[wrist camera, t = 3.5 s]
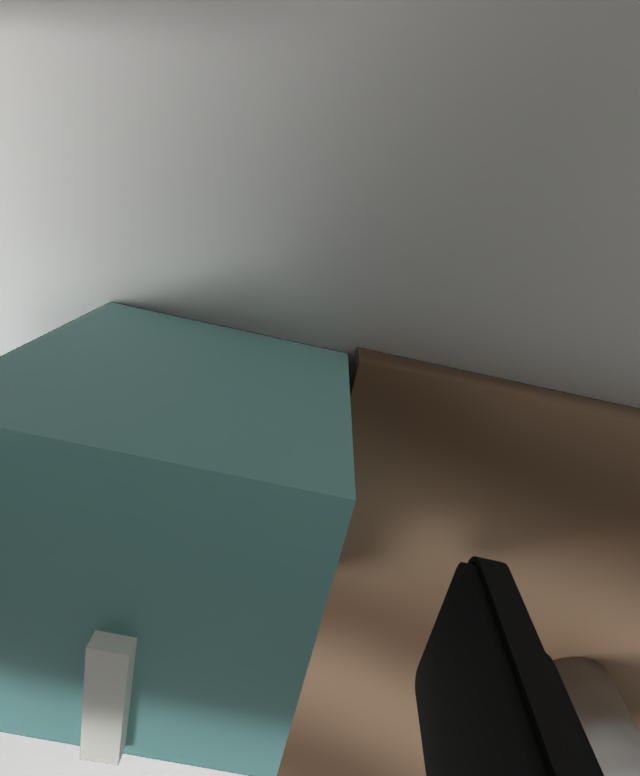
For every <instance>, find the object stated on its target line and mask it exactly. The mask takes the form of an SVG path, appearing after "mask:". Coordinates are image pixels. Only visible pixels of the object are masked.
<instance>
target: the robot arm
mask: <svg viewBox="0 0 640 776" xmlns="http://www.w3.org/2000/svg"><path fill="white" fill-rule="evenodd" d="M415 695H416V702H417V710H418V717H419V725H420V733H421V740H422V748H423V755H424V763H425V771H426V776H604V774H603V772H602V769H601V767H600V765H599V763H598V760H597V758H596V756H595V754H594V751H593V749H592V747H591V745H590V742H589V740H588V738H587V735H586V733H585V731H584V729H583V726H582V724H581V722H580V720H579V717H578V715H577V713H576V711H575V708H574V706H573V704H572V701H571V699H570V697H569V695H568V692H567V690H566V688H565V686H564V683H563V681H562V679H561V677H560V674H559V672H558V670H557V667H556V665H555V664H554V662H553V660H552V658H551V657H550V656H549V655H548V654H547V653H546V652H545V650H544V648H543V645H542V643H541V641H540V638H539V636H538V634H537V631H536V629H535V627H534V625H533V622H532V620H531V618H530V615H529V613H528V611H527V608H526V606H525V604H524V601H523V599H522V597H521V594H520V592H519V590H518V587H517V585H516V583H515V580H514V578H513V576H512V574H511V571H510V569H509V567H508V566H507V564H505V563H504V562H500V561H495V560H490V559H486V558H481V557H477V556H473V557H471V558H470V559H469V561H468V563H465V562H460V563H459V564H458V566H457V568H456V570H455V573H454V576H453V578H452V581H451V583H450V586H449V588H448V591H447V593H446V596H445V599H444V601H443V604H442V606H441V609H440V611H439V614H438V616H437V619H436V622H435V624H434V627H433V629H432V632H431V634H430V637H429V639H428V642H427V645H426V647H425V650H424V652H423V655H422V657H421V660H420V662H419V665H418V668H417V671H416V676H415Z"/></svg>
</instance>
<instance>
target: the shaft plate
mask: <svg viewBox="0 0 640 776" xmlns="http://www.w3.org/2000/svg"><path fill="white" fill-rule="evenodd" d="M349 384H350V402H351V420H352V437H353V455H354V473H355V491H356V502H355V506H354V509H353V513H352V516H351V520H350V523H349V526H348V530H347V533H346V537H345V540H344V544H343V547H342V551H341V554H340V558H339V561H338V565H337V568H336V572H335V575H334V579H333V582H332V586H331V589H330V592H329V596H328V599H327V603H326V606H325V610H324V613H323V617H322V620H321V624H320V627H319V631H318V634H317V638H316V641H315V645H314V648H313V651H312V655H311V658H310V662H309V665H308V669H307V672H306V676H305V679H304V683H303V686H302V690H301V693H300V697H299V700H298V704H297V707H296V711H295V714H294V717H293V721H292V724H291V728H290V731H289V735H288V738H287V742H286V745H285V749H284V752H283V756H282V759H281V763H280V766H279V770H278V773H277V776H426V771H425V763H424V755H423V748H422V740H421V733H420V725H419V717H418V710H417V702H416V695H415V676H416V671H417V668H418V665H419V662H420V660H421V657H422V655H423V652H424V650H425V647H426V645H427V642H428V639H429V637H430V634H431V632H432V629H433V627H434V624H435V622H436V619H437V616H438V614H439V611H440V609H441V606H442V604H443V601H444V599H445V596H446V593H447V591H448V588H449V586H450V583H451V581H452V578H453V576H454V573H455V570H456V568H457V566H458V564H459V563H460V562H465V563H468V561H469V559H470V558H471V557H473V556H477V557H481V558H486V559H490V560H495V561H500V562H504V563H505V564H507V566H508V567H509V569H510V571H511V574H512V576H513V578H514V580H515V583H516V585H517V587H518V590H519V592H520V594H521V597H522V599H523V601H524V604H525V606H526V608H527V611H528V613H529V615H530V618H531V620H532V622H533V625H534V627H535V629H536V631H537V634H538V636H539V638H540V641H541V643H542V645H543V648H544V650H545V652H546V653H547V654H548V655H549V656H550V657H551V658H552V660H553V662H554V664H555V665H556V667H557V670H558V672H559V674H560V677H561V679H562V681H563V683H564V686H565V688H566V690H567V692H568V695H569V697H570V699H571V701H572V704H573V706H574V708H575V711H576V713H577V715H578V717H579V720H580V722H581V724H582V726H583V729H584V731H585V733H586V735H587V738H588V740H589V742H590V745H591V747H592V749H593V751H594V754H595V756H596V758H597V760H598V763H599V765H600V767H601V769H602V772H603V774H604V776H640V409H637V408H632V407H628V406H623V405H619V404H614V403H610V402H605V401H600V400H596V399H591V398H587V397H582V396H578V395H573V394H568V393H564V392H559V391H555V390H550V389H546V388H541V387H536V386H532V385H527V384H523V383H518V382H513V381H509V380H504V379H500V378H495V377H491V376H486V375H481V374H477V373H472V372H468V371H463V370H459V369H454V368H449V367H445V366H440V365H436V364H431V363H427V362H422V361H417V360H413V359H408V358H404V357H399V356H394V355H390V354H385V353H381V352H376V351H372V350H367V349H362V348H358V350H357V354H356V358H355V362H354V366H353V369H352V373H351V377H350V381H349Z"/></svg>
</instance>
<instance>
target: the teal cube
mask: <svg viewBox="0 0 640 776" xmlns="http://www.w3.org/2000/svg"><path fill="white" fill-rule="evenodd" d="M355 502H356V491H355V473H354V455H353V437H352V420H351V402H350V384H349V367H348V354H347V353H343V352H338V351H333V350H329V349H324V348H320V347H315V346H310V345H306V344H301V343H297V342H292V341H287V340H283V339H278V338H274V337H269V336H265V335H260V334H255V333H251V332H246V331H242V330H237V329H232V328H228V327H223V326H219V325H214V324H209V323H205V322H200V321H196V320H191V319H186V318H182V317H177V316H173V315H168V314H163V313H159V312H154V311H150V310H145V309H140V308H136V307H131V306H127V305H122V304H117V303H113V302H109V303H107V304H105V305H103V306H101V307H99V308H97V309H95V310H93V311H91V312H89V313H87V314H85V315H83V316H81V317H79V318H77V319H75V320H73V321H71V322H69V323H67V324H65V325H63V326H61V327H59V328H57V329H55V330H53V331H51V332H49V333H47V334H45V335H43V336H41V337H39V338H37V339H35V340H33V341H31V342H29V343H27V344H24V345H22V346H20V347H18V348H16V349H14V350H12V351H10V352H8V353H6V354H4V355H2V356H0V732H4V733H10V734H15V735H21V736H27V737H32V738H38V739H44V740H50V741H55V742H61V743H67V744H72V745H78V746H80V758H79V759H83V760H89V761H95V762H100V763H106V764H112V765H118V764H119V762H120V759H121V756H122V754H129V755H135V756H140V757H146V758H152V759H158V760H163V761H169V762H175V763H180V764H186V765H192V766H197V767H203V768H209V769H214V770H220V771H226V772H231V773H237V774H243V775H249V776H277V773H278V770H279V766H280V763H281V759H282V756H283V752H284V749H285V745H286V742H287V738H288V735H289V731H290V728H291V724H292V721H293V717H294V714H295V711H296V707H297V704H298V700H299V697H300V693H301V690H302V686H303V683H304V679H305V676H306V672H307V669H308V665H309V662H310V658H311V655H312V651H313V648H314V645H315V641H316V638H317V634H318V631H319V627H320V624H321V620H322V617H323V613H324V610H325V606H326V603H327V599H328V596H329V592H330V589H331V586H332V582H333V579H334V575H335V572H336V568H337V565H338V561H339V558H340V554H341V551H342V547H343V544H344V540H345V537H346V533H347V530H348V526H349V523H350V520H351V516H352V513H353V509H354V506H355Z"/></svg>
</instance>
